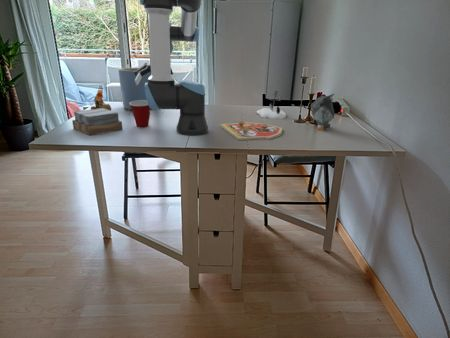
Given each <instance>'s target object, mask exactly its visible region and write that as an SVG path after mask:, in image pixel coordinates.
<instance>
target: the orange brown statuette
mask: <svg viewBox="0 0 450 338" xmlns="http://www.w3.org/2000/svg"><path fill="white" fill-rule="evenodd" d="M103 92H104V90H103V89H98V90H97V92H96V94H95V96H94V106H91V107H90V110H92V109H100V108H104V109H107V110H110V111H112V107H111V105H110V104H109V103H105V102H104V99H103V98H104V95H103Z"/></svg>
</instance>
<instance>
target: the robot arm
mask: <svg viewBox="0 0 450 338" xmlns="http://www.w3.org/2000/svg"><path fill="white" fill-rule="evenodd" d="M201 2H202V0H139V3H140V5H142V6H143V10H144V11H145V13H146V14H147V18H148V36H149V54H150V56H149V57H150V63H149V64H148V63H147V62H144V64H143V65H142V66H140V67H138V68H139V69H138V70H136V71H135V72H134V73H135V76H136V77H135V78H136V79H135V83H136V85H138V84H139V82H140V80H141V78H142V76H143V75H145V74H147V73H149V72H151V76H150V77H149V78H148V82H147V83H145V93H146V98H147V102H148V105H149V107H150V108H151V109H150V110H152V109H153V110H159V111H161V110H179V117H178V122H177V125H176V132H177V133H178V134H180V135H185V136H201V135H205V134H208V132H209V126H208V123H207V119H206V110H205V109H206V107H205V106H206V103H205V102H206V88H205V85H204V84H203V83H201V82H199V81H194V80H193V81H192V80H184V79H180V80H179V81H178V83H175V78H174V77H173V76H172V75H173V74H174V72H173V69H172V67H171V62H172V61H171V55H172V53H173V51H174V45H173V42H175V41H176V42H190V43H193V42H195V43H197V42H198V41H199V39H200V38H199V37H200V36H199V35H200V33H199V31H200V30H199V27H198V26H197V19H198V18H197V17H198V11H199V9H200V7H201V4H202V3H201ZM174 7H176V8H177V7H179V8H180V25H173V24H172V23H171V21H170V15H171V14H173V12H174V9H173V8H174ZM172 41H173V42H172Z"/></svg>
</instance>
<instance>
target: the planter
mask: <svg viewBox="0 0 450 338" xmlns="http://www.w3.org/2000/svg"><path fill="white" fill-rule="evenodd" d="M139 68H140V67H122V68H121V67H120V68H118V69H117V70H118V77H119V85H120V92H121V98H122V99H121V101H122V105H123V107H124V108H126V109H127V110H128V111H129V110H132V108H131V106H130V104H129V103H130V102H132V101H137V100H147V98H146V93H145V83H147V82H148V78H149V77H150V76H151V72H149V73H147V74H145V75H143V76H142V78H141V80H140V82H139V84H138V85H136V83H135V79H136V78H135V77H136V76H135V73H134V72H135V71H136V70H138V69H139ZM150 110H154V109H151V108H150Z"/></svg>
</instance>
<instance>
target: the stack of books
mask: <svg viewBox="0 0 450 338" xmlns="http://www.w3.org/2000/svg"><path fill="white" fill-rule="evenodd" d="M73 114H74V119H72V120H71V121H72V127H73V130H76V131H78V132H80V133H82V134H85V135H88V136H89V137H90V136H94V135H100V134H101V135H102V134H107V133H112V132H116V131H117V132H118V131H121V130H122V131H123V130H124V129H123V121H122V120H119V112H116V111H113V110H111V111H110V110H107V109H104V108H100V109H92V110H91V109H84V110H78V111H74V112H73Z"/></svg>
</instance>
